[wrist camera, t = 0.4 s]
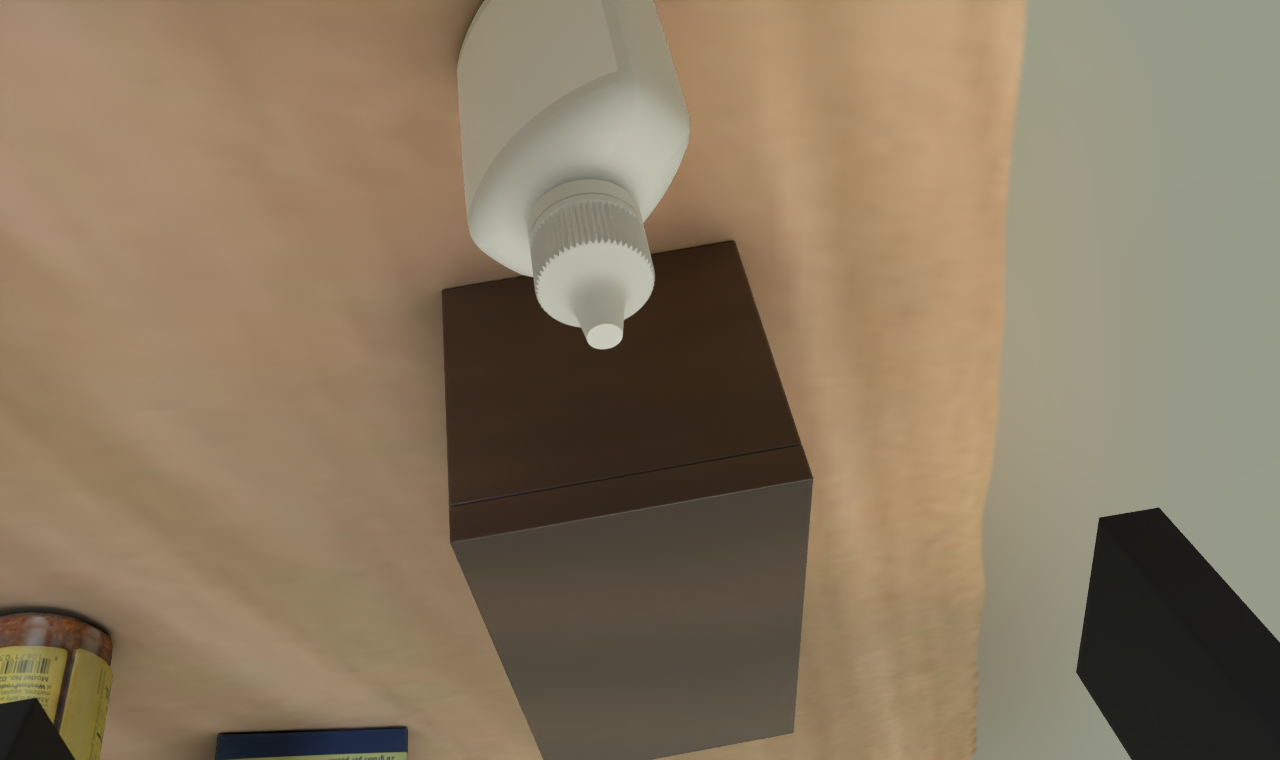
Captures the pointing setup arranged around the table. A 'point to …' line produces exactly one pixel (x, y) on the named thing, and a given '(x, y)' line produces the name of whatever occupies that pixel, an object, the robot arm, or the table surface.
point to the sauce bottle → (59, 674)
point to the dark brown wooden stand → (631, 512)
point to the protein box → (315, 745)
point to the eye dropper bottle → (570, 149)
